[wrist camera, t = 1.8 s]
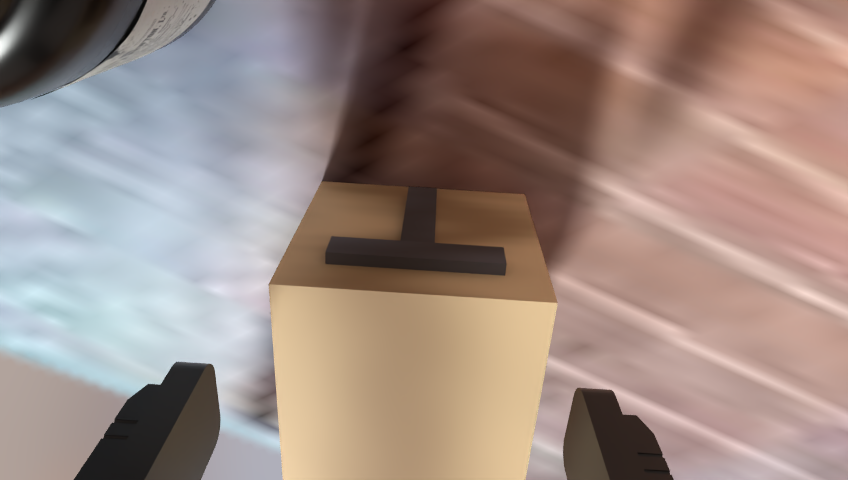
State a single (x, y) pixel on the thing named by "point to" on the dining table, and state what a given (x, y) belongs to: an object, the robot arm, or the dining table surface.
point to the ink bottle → (82, 39)
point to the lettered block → (410, 335)
